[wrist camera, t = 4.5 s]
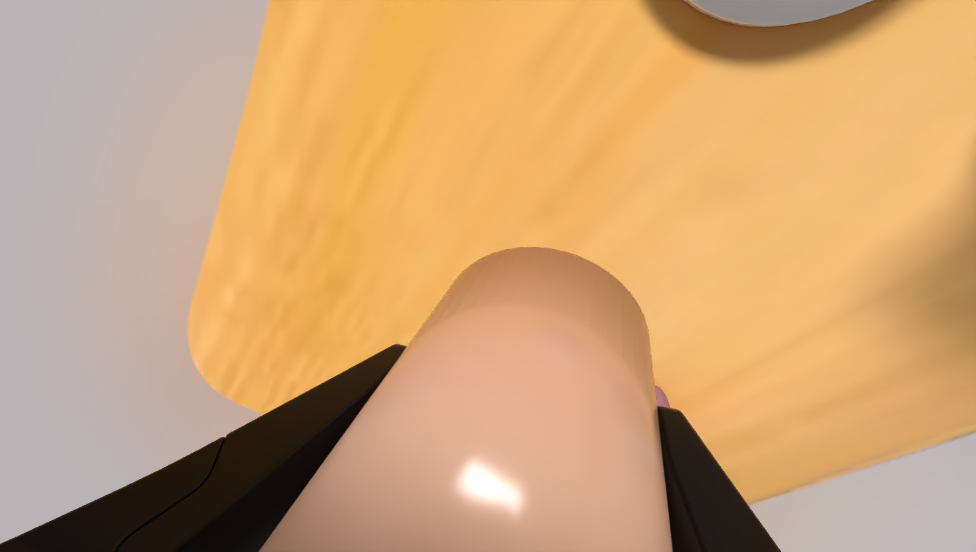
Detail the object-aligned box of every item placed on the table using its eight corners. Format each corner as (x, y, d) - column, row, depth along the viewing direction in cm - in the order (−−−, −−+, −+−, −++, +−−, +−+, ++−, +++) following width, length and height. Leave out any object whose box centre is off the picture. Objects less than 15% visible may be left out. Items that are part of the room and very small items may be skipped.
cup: (623, 436, 10) (629, 930, 4) (442, 391, 11) (261, 739, 5) (678, 269, 7) (851, 897, 2) (440, 230, 8) (105, 562, 3)
